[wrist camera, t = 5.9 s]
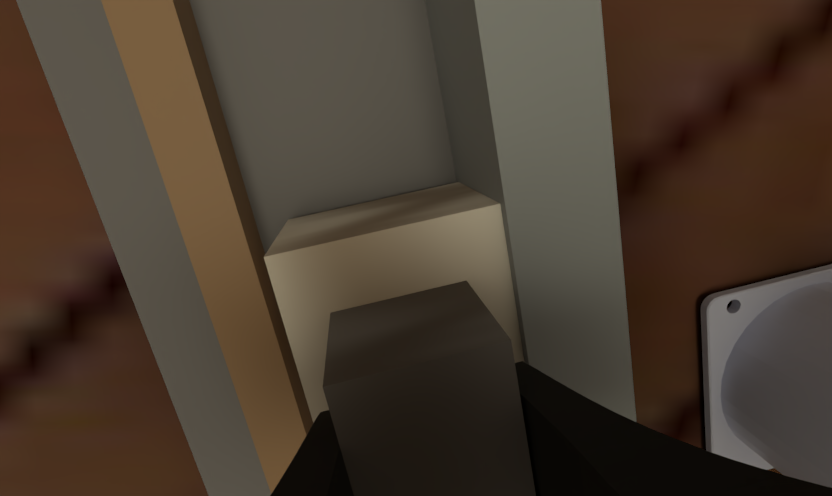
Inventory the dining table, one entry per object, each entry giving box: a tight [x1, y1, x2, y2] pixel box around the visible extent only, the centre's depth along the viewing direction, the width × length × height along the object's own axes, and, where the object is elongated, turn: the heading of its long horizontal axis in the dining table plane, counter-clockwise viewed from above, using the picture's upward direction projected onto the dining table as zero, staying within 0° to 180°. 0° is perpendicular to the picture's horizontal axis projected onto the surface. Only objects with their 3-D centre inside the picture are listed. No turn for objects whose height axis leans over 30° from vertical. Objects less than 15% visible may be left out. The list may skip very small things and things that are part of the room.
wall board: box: [16, 0, 636, 496], centre depth 13 cm, size 13×28×6 cm, turn 11°
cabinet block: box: [264, 182, 536, 496], centre depth 11 cm, size 5×8×7 cm, turn 11°
